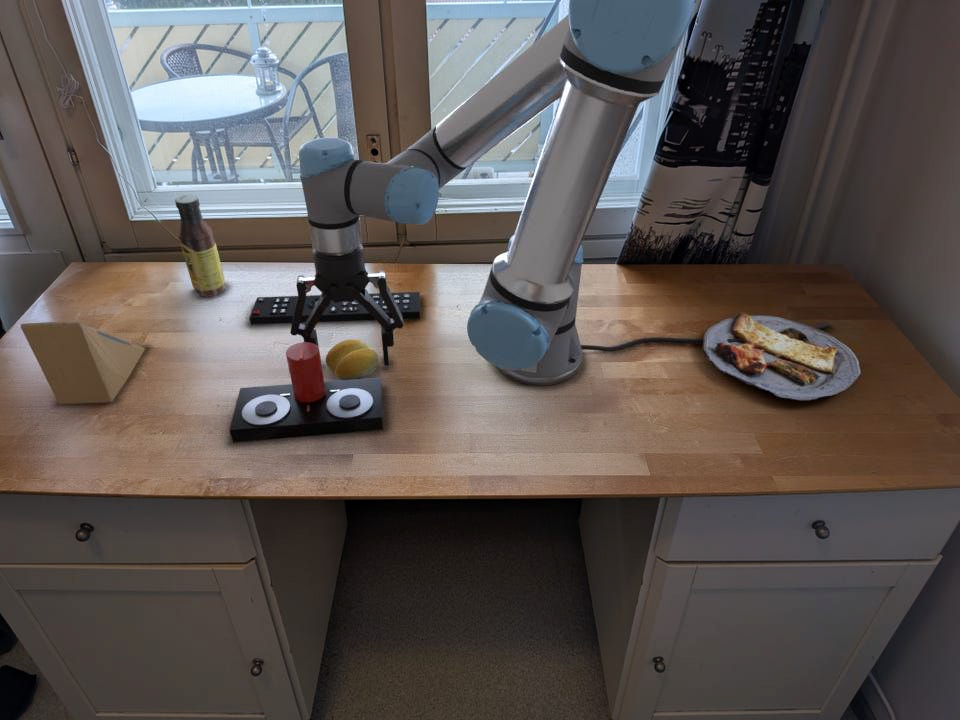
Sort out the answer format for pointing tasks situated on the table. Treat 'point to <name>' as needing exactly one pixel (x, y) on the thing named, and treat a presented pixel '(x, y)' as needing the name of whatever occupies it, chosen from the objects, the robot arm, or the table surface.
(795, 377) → the food plate
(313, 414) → the hob
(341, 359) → the bread roll
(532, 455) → the table surface
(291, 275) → the table surface
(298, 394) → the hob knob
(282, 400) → the burner rings
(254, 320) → the remote control
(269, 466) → the table surface
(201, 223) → the sauce bottle
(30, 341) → the sandwich container
